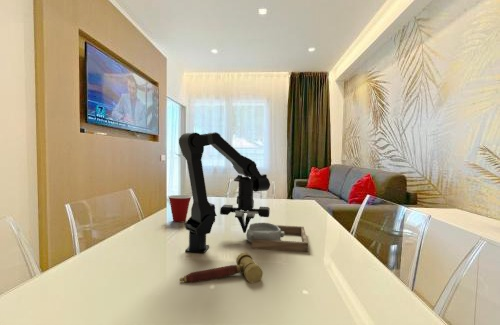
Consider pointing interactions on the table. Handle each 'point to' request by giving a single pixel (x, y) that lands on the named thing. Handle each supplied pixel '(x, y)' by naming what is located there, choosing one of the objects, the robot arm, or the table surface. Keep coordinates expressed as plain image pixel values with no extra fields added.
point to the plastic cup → (179, 207)
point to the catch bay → (284, 244)
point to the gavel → (229, 271)
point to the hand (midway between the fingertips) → (244, 232)
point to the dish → (264, 232)
